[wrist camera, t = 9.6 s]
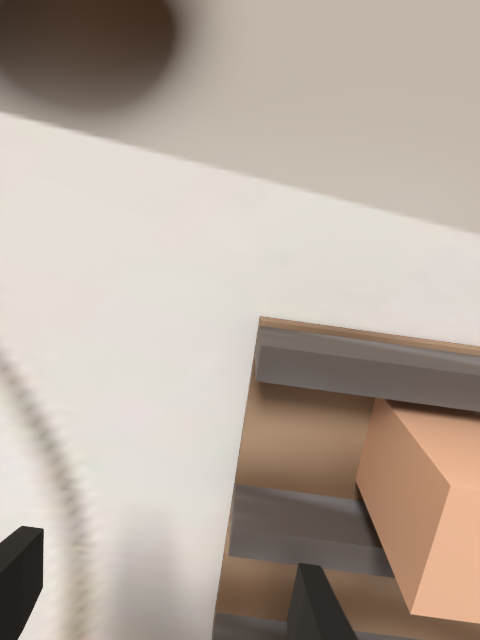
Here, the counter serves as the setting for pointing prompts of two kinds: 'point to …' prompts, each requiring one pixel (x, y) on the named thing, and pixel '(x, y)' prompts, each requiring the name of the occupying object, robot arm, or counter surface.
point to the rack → (326, 476)
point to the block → (426, 503)
